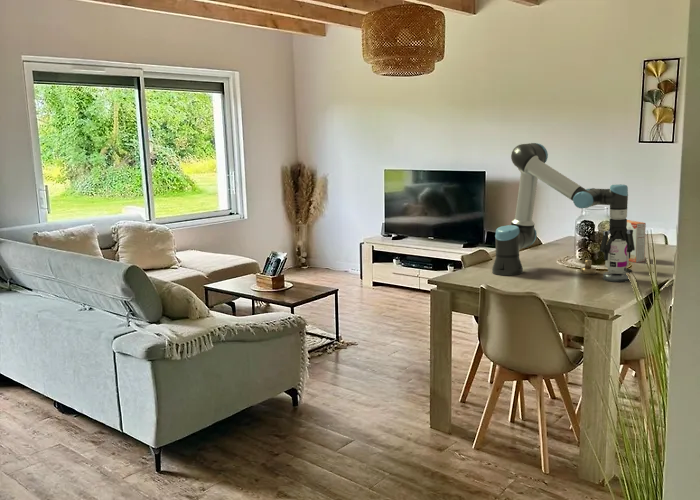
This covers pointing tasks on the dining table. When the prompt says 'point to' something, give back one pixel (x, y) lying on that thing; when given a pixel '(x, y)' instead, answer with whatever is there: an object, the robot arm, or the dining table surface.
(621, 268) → the supplement can
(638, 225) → the cracker box
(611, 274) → the flange large
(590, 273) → the fitting small
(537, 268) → the dining table surface
